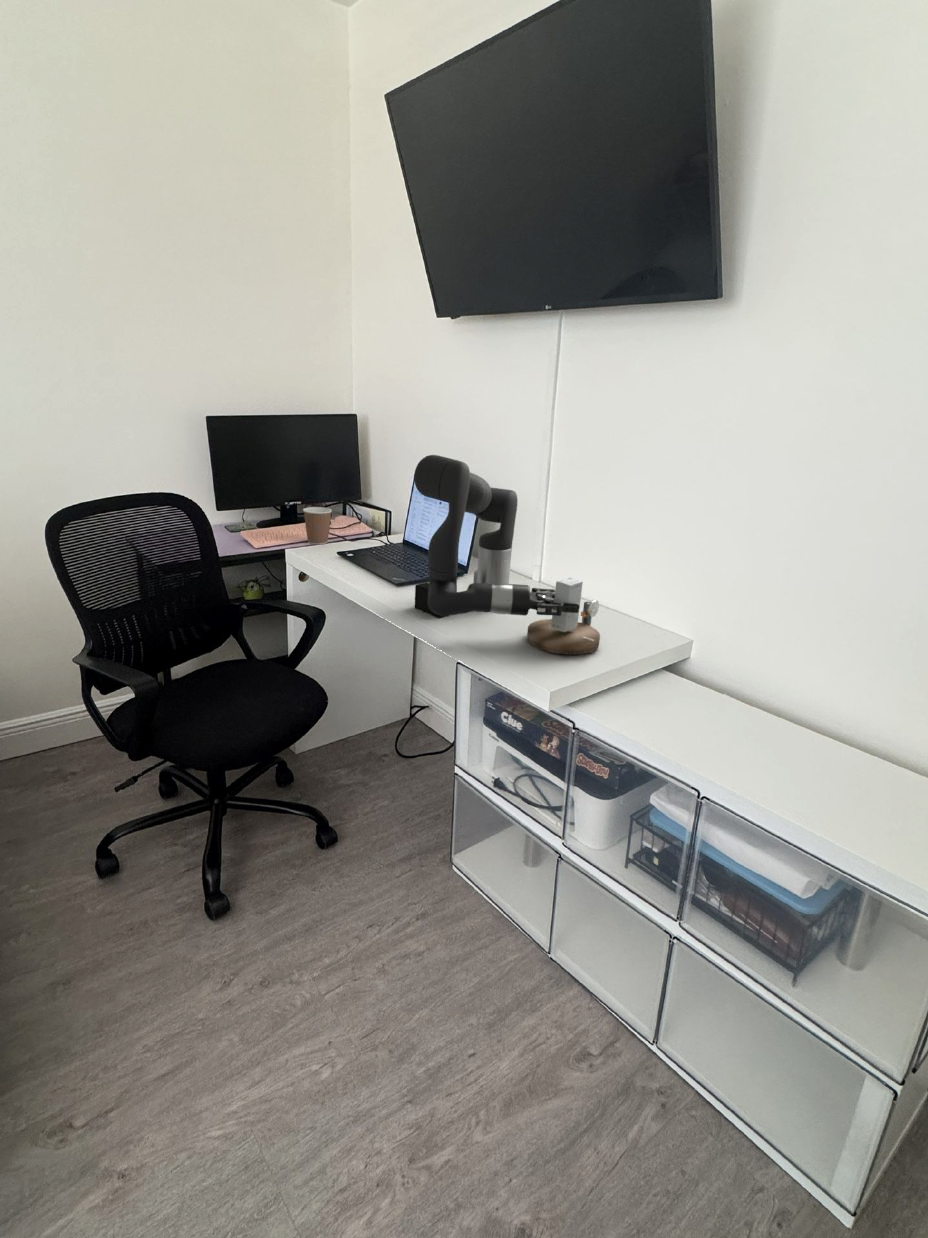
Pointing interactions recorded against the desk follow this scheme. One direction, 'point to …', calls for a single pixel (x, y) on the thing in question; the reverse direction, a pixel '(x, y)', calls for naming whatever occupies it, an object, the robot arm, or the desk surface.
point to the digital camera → (423, 599)
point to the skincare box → (567, 593)
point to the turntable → (563, 638)
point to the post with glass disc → (589, 611)
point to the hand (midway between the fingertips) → (575, 603)
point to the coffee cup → (317, 524)
